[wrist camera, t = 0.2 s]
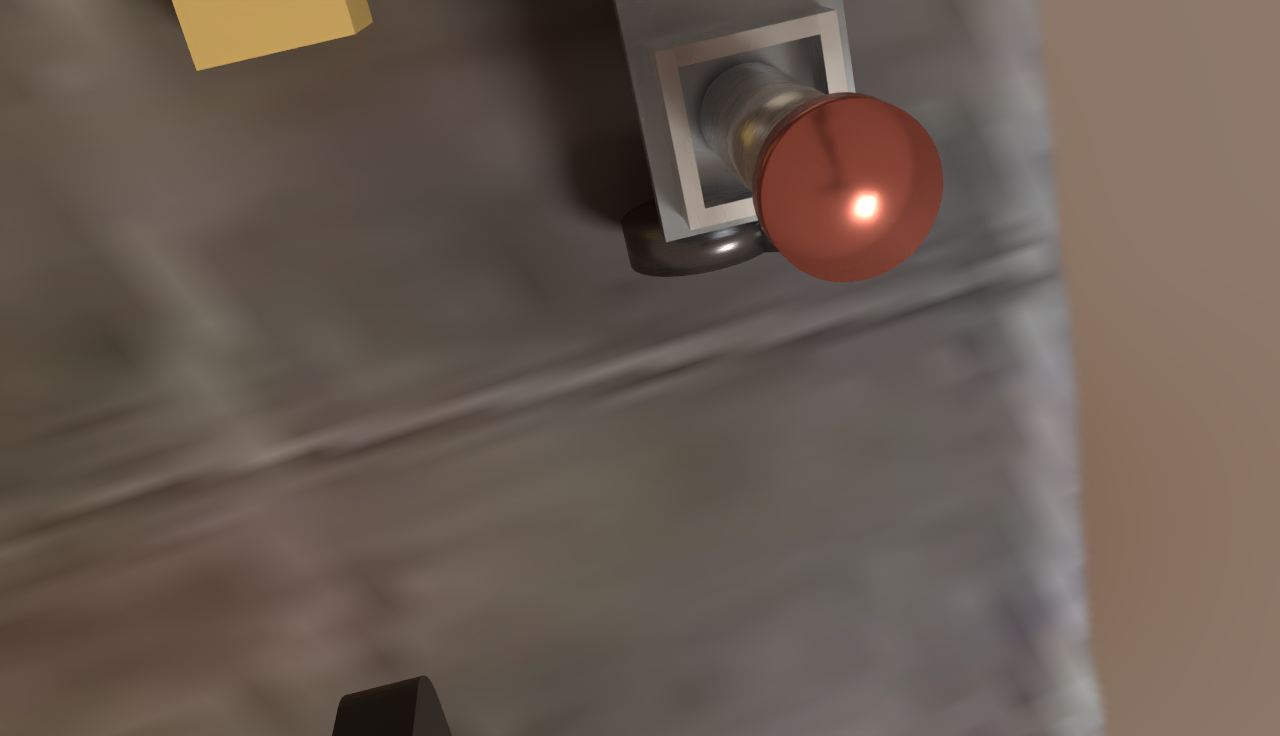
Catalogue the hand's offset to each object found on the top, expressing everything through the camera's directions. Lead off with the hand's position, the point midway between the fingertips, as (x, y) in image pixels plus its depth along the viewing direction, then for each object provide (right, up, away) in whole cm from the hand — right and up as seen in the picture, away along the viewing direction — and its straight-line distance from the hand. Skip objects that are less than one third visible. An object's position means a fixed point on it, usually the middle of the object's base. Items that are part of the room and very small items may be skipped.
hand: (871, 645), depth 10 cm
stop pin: (+1, +10, +21) cm, 23 cm away
